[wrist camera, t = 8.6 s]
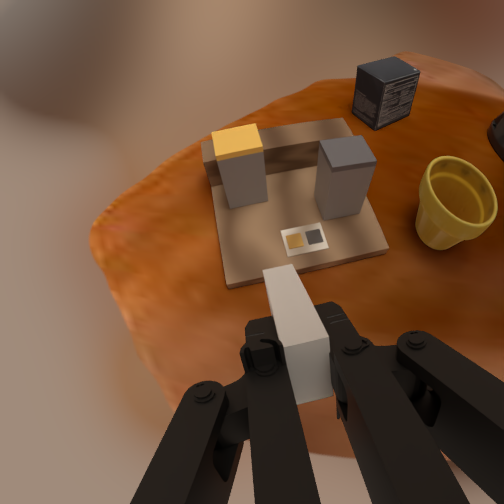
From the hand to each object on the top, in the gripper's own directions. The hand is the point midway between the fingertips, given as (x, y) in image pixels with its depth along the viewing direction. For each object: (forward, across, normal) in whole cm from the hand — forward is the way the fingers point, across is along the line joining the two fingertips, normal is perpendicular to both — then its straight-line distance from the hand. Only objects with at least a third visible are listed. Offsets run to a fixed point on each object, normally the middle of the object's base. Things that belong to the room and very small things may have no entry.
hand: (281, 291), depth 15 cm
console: (+26, -5, +1) cm, 26 cm away
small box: (+38, -27, -11) cm, 48 cm away
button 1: (+23, -11, +1) cm, 26 cm away
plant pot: (+21, -24, +7) cm, 33 cm away
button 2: (+27, 0, -2) cm, 27 cm away
